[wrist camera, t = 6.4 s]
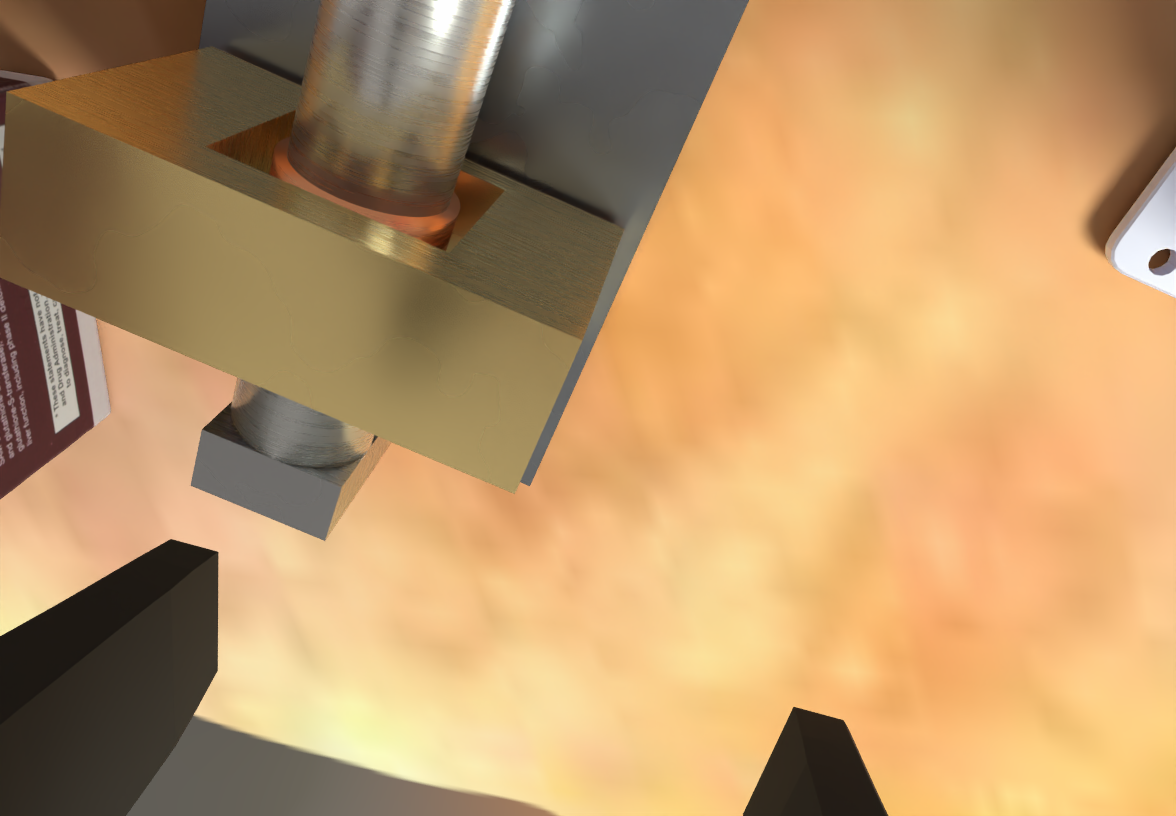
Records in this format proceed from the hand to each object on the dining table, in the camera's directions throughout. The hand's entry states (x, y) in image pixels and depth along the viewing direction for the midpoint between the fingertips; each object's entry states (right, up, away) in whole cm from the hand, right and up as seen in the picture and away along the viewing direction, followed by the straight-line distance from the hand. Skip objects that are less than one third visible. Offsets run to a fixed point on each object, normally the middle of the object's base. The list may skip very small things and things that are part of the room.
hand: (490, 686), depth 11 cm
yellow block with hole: (-3, +8, +8) cm, 12 cm away
